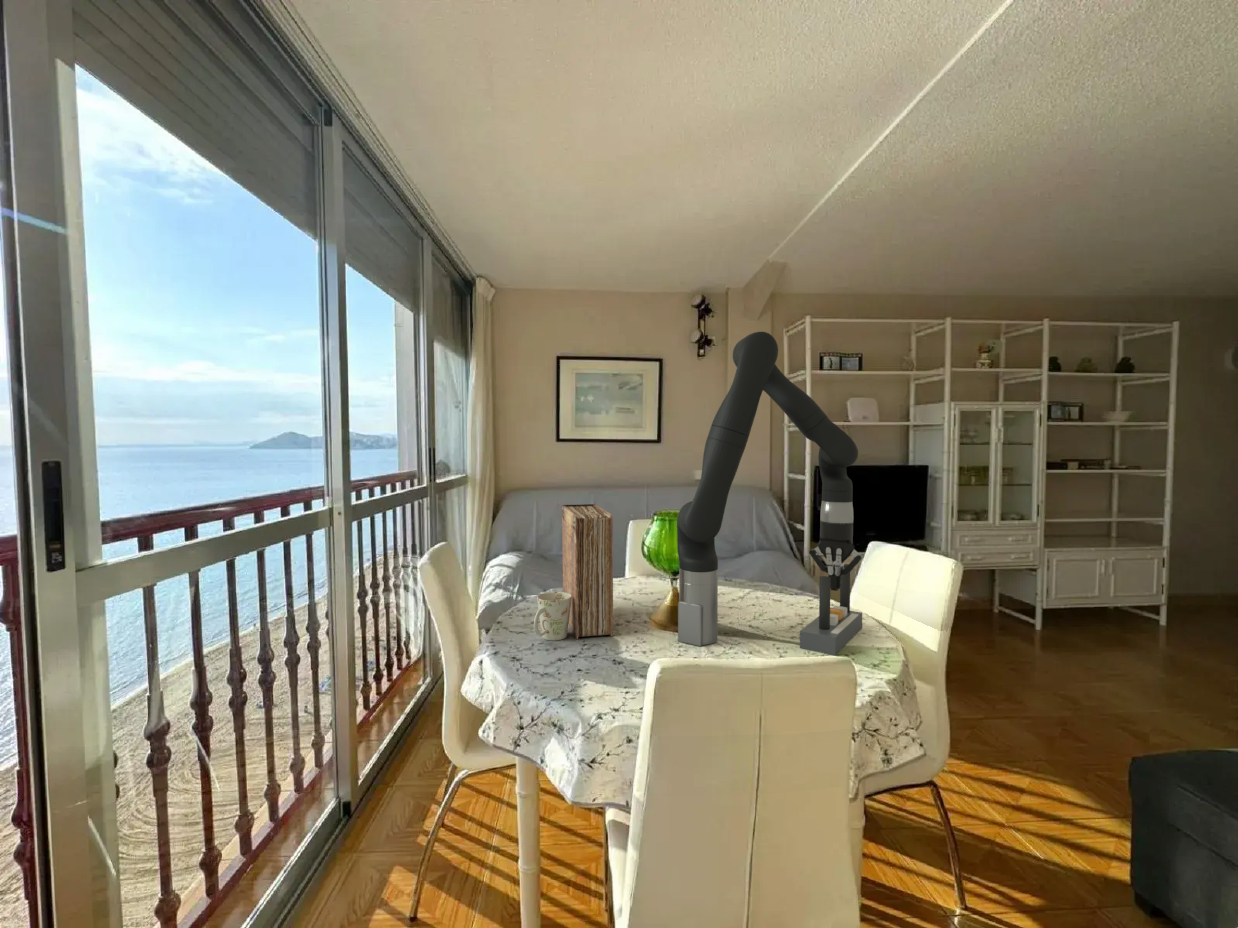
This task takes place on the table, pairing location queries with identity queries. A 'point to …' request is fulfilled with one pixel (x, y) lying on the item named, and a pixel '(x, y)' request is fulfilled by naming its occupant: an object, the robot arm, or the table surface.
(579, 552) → the book
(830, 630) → the switch panel
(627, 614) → the table surface
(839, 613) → the orange paddle
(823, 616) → the post
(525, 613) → the table surface
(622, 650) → the table surface
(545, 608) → the mug
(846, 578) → the post
